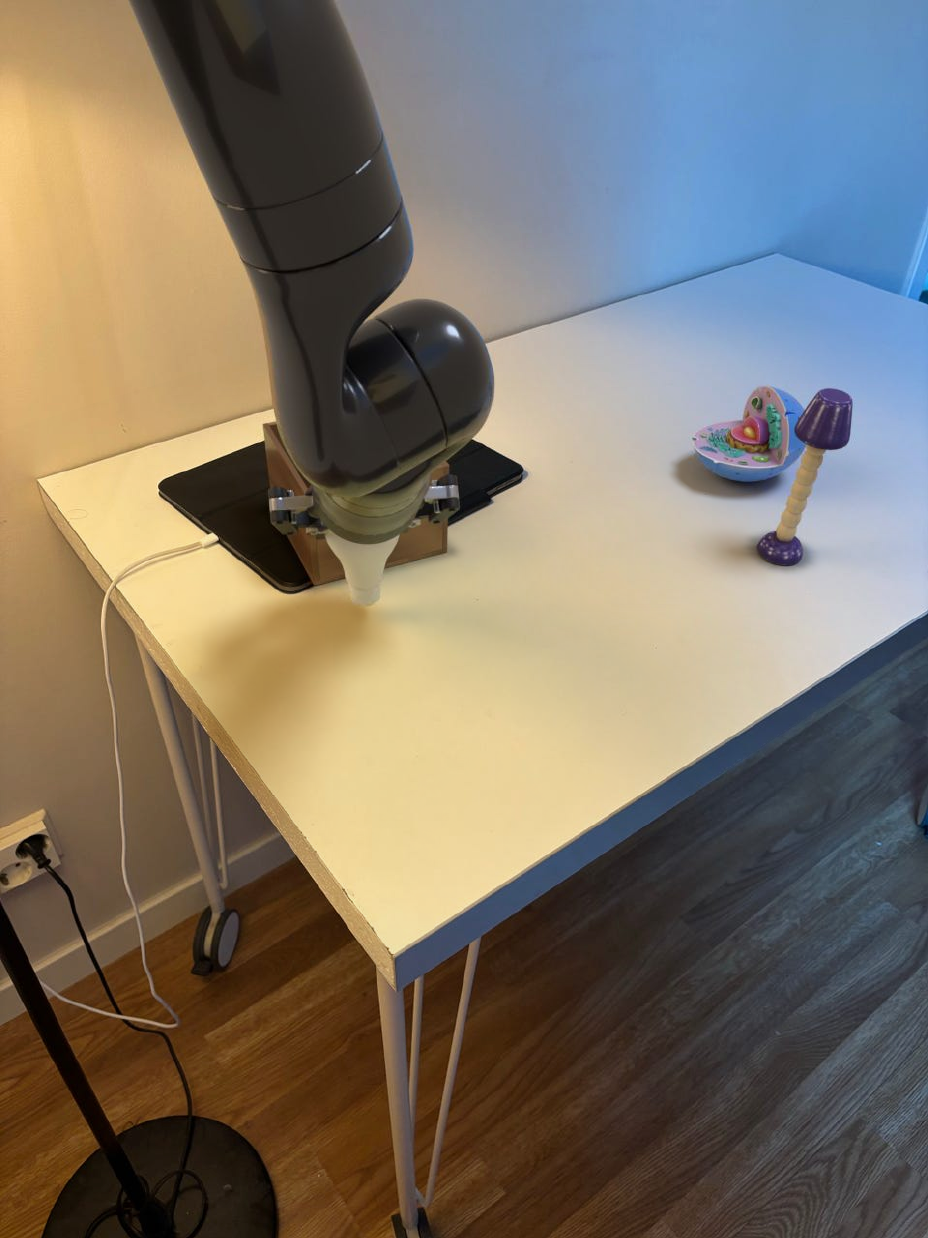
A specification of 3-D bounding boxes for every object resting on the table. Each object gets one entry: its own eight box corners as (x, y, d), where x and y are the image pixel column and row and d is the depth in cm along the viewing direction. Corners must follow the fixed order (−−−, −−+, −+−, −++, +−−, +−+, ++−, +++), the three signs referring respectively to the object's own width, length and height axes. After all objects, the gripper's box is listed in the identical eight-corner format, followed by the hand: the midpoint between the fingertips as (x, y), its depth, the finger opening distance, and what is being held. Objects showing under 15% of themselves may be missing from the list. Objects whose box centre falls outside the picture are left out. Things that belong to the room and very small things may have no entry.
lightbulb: (368, 636, 78) (363, 526, 71) (314, 606, 81) (305, 497, 74) (415, 600, 82) (415, 492, 75) (362, 572, 85) (358, 466, 78)
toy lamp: (797, 538, 93) (848, 380, 82) (816, 567, 89) (872, 407, 78) (750, 540, 92) (795, 382, 81) (767, 569, 89) (816, 408, 78)
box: (314, 586, 85) (306, 496, 79) (272, 509, 94) (262, 423, 87) (447, 552, 89) (449, 465, 83) (395, 482, 98) (393, 398, 92)
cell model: (670, 455, 104) (686, 374, 98) (771, 446, 106) (793, 366, 100) (707, 506, 97) (727, 421, 90) (814, 495, 99) (841, 412, 93)
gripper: (472, 413, 63) (442, 473, 80) (251, 427, 61) (267, 485, 77) (484, 525, 63) (451, 561, 79) (262, 542, 60) (275, 576, 77)
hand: (360, 523), depth 78 cm, fingers closed on lightbulb, 6 cm apart
